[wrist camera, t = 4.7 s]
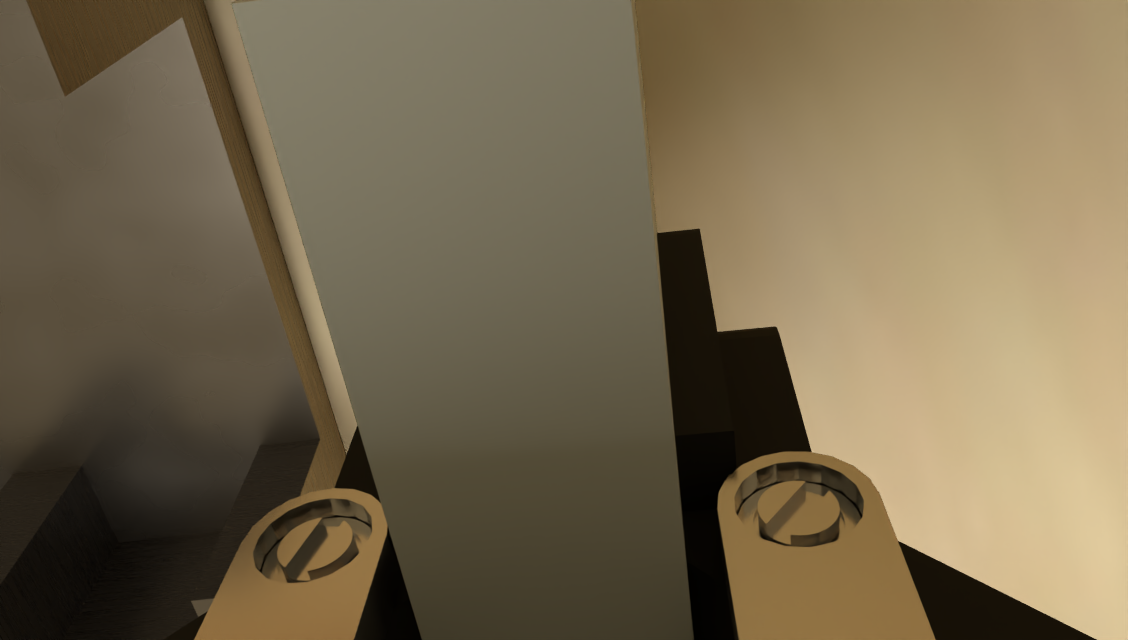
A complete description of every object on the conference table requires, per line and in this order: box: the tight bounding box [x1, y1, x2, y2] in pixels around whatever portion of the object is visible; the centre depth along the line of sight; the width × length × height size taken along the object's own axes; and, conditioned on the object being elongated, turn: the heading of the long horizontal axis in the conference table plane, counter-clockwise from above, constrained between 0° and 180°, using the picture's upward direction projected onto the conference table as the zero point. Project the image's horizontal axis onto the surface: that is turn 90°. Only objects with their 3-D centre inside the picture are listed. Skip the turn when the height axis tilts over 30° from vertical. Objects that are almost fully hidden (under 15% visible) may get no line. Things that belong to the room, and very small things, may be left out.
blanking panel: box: [232, 0, 694, 640], centre depth 11 cm, size 2×11×8 cm, turn 8°
